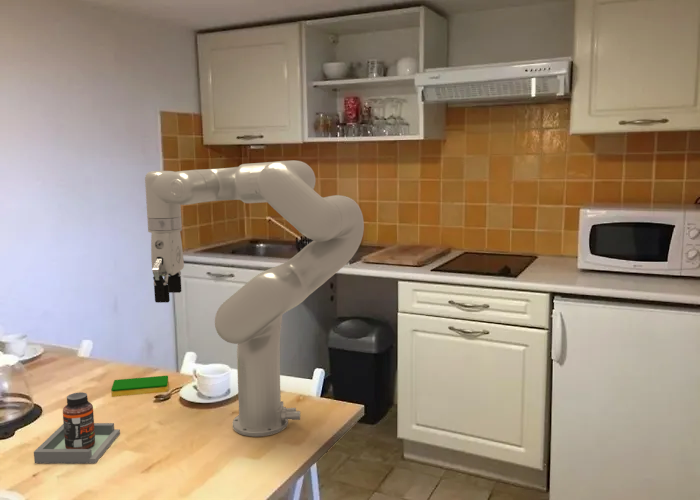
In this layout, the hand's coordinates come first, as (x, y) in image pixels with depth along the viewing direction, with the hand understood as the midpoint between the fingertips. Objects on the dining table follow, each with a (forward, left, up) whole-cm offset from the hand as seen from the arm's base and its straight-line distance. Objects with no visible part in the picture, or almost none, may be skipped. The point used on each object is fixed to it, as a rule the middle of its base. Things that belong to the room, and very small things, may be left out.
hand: (168, 297), depth 149 cm
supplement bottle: (+15, +19, -28) cm, 37 cm away
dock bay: (+15, +19, -28) cm, 37 cm away
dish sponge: (+13, -14, -29) cm, 35 cm away
